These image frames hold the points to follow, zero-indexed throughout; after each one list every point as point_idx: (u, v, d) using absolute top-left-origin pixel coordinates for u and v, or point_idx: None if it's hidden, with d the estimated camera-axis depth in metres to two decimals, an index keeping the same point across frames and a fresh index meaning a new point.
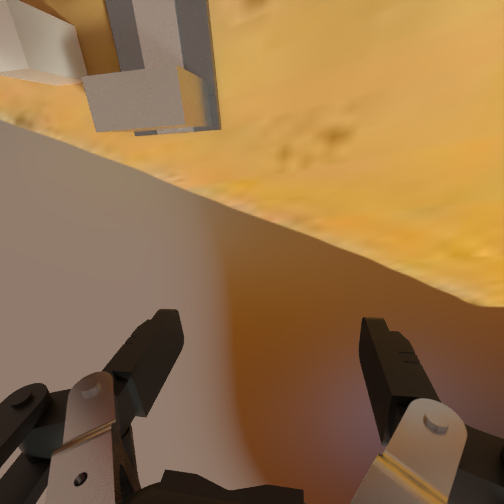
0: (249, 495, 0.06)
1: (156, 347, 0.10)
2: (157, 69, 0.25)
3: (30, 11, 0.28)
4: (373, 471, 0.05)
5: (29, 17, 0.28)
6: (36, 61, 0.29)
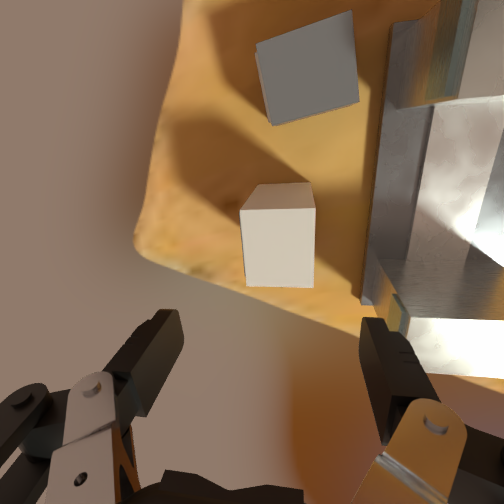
0: (249, 495, 0.06)
1: (156, 346, 0.10)
2: None
3: None
4: (373, 471, 0.05)
5: None
6: None
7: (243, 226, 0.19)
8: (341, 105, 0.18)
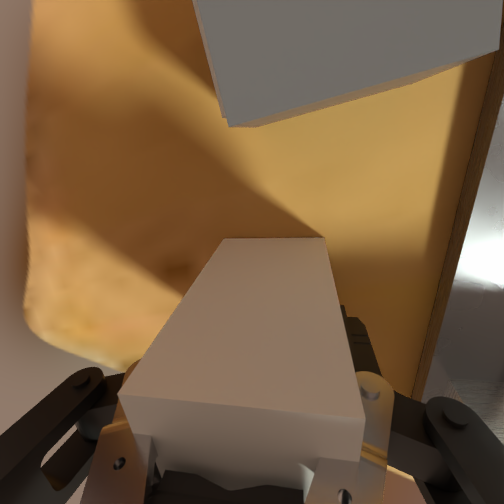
0: (249, 494, 0.06)
1: None
2: None
3: None
4: None
5: None
6: None
7: (137, 430, 0.06)
8: (436, 63, 0.06)
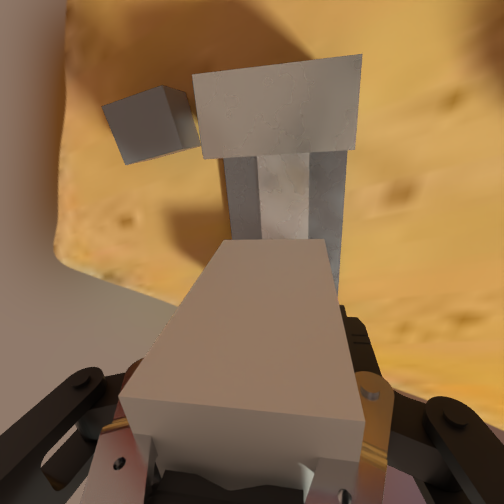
0: (249, 495, 0.06)
1: None
2: None
3: None
4: None
5: None
6: None
7: (138, 431, 0.06)
8: (171, 151, 0.24)
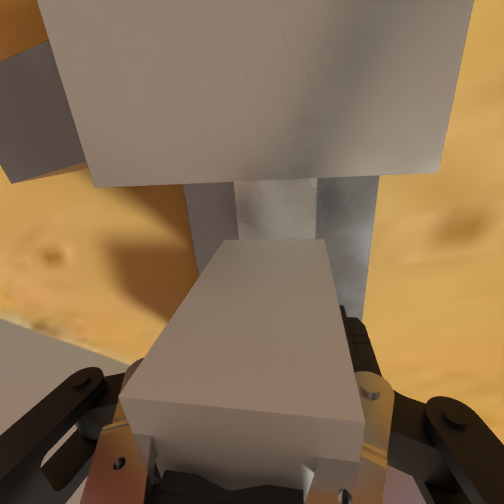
0: (249, 494, 0.06)
1: None
2: None
3: None
4: None
5: None
6: None
7: (138, 432, 0.06)
8: (80, 161, 0.14)
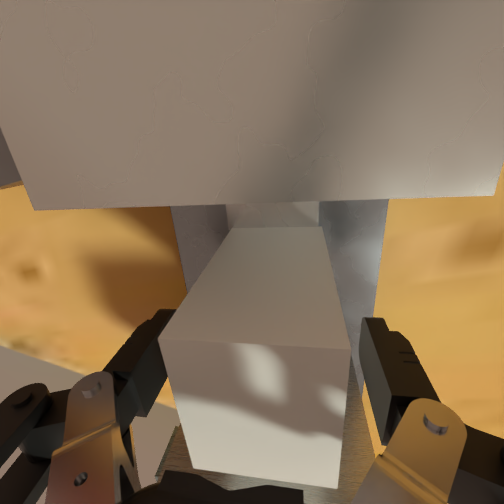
0: (249, 495, 0.06)
1: (156, 347, 0.10)
2: None
3: None
4: (373, 471, 0.05)
5: None
6: None
7: (171, 370, 0.08)
8: None
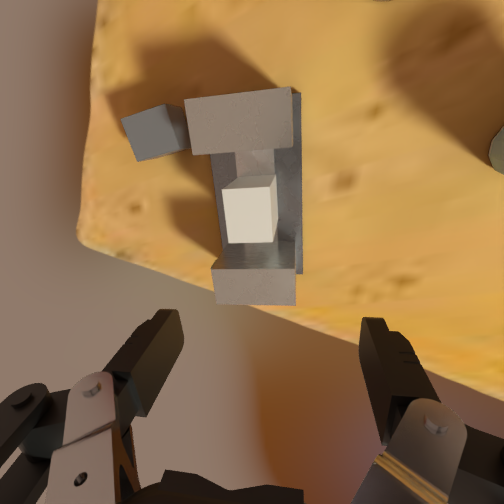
0: (249, 495, 0.06)
1: (156, 347, 0.10)
2: (278, 270, 0.31)
3: (272, 187, 0.30)
4: (373, 471, 0.05)
5: (272, 194, 0.29)
6: (273, 231, 0.30)
7: (224, 200, 0.28)
8: (171, 151, 0.33)
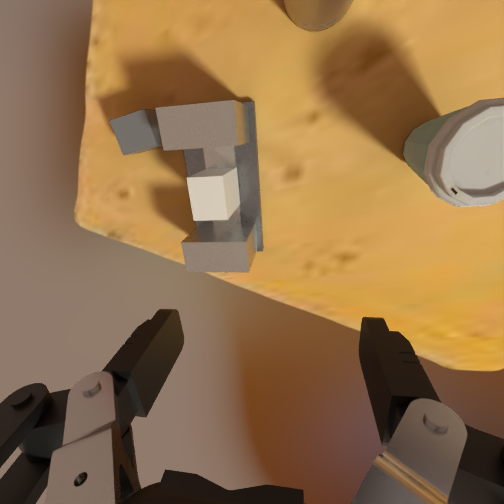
0: (249, 494, 0.06)
1: (156, 347, 0.10)
2: (233, 243, 0.39)
3: (227, 177, 0.38)
4: (373, 471, 0.05)
5: (227, 182, 0.37)
6: (228, 211, 0.38)
7: (189, 186, 0.36)
8: (150, 146, 0.41)
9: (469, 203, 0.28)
